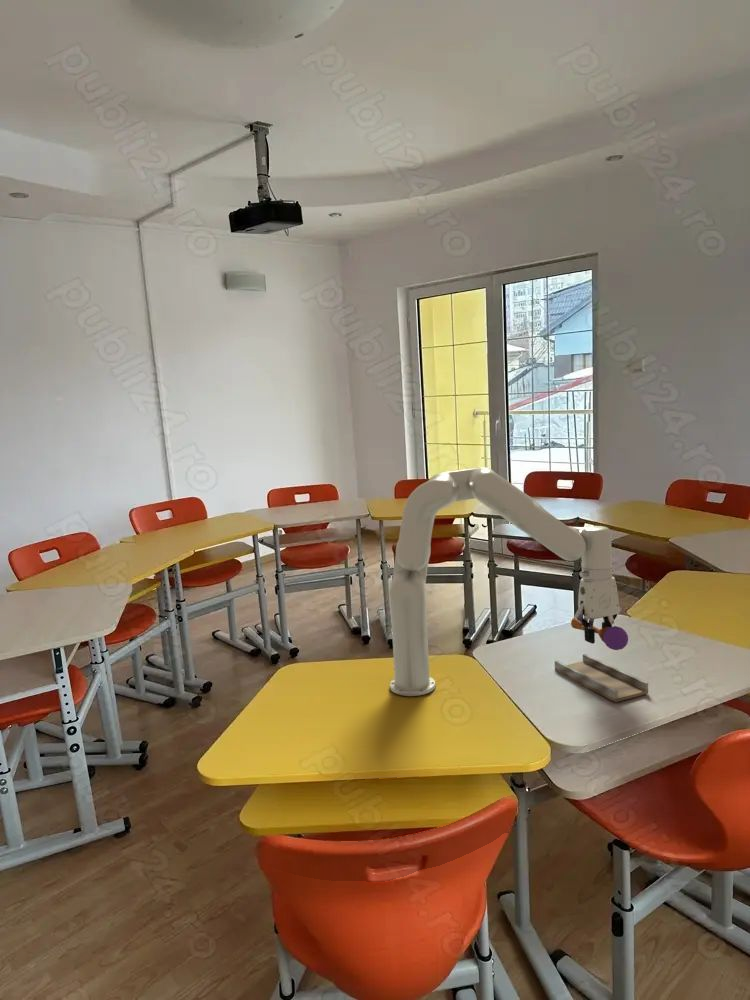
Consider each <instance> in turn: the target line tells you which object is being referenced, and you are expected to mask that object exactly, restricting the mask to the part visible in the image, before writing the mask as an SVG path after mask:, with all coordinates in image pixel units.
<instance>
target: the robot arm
mask: <svg viewBox="0 0 750 1000" xmlns="http://www.w3.org/2000/svg"><path fill="white" fill-rule="evenodd" d="M473 499H476V500H477V501H479V502H480V503H482V505H484V506H486V507H487V508H488V509H490V510H492V511H493V512H495V513H496V514H497V515H499V516H501V517H502V518H503V519H505V520H506V521H508V522H509V523H510V524H512V525H513V526H515V527H516V528H517V529H519V530H520V531H522V532H523V533H525V534H526V535H528V536H529V537H531V538H533V539H534V540H535V541H536V542H538V543H540V544H541V545H543V546H544V547H545V548H547V550H549V551H551V552H552V553H554V554H555V555H556V556H558V557H559V558H561V559H563V560H565V561H570V562H571V561H577V560H579V559H581V571H580V572H579V576H580V578H581V579H580V581H579V582H580V583H579V588H578V595H577V596H578V599H577V600H578V601H577V602H578V603H577V605H578V606H577V607H578V609H577V610H576V612H575V614H574V615H573V618H574V619H576V620H577V621H579V623H580V624H582V626H583V627H584V630H583V631H584V641H585V642H588V643H589V644H595V642H596V640H595V639H596V638H595V636H596V635H595V634H596V633H595V630H594V629H593V626H594V622H595V620H596V619H597V620H598V619H601V618H602V620H603V621H602V622H601V629H603V628H606V627H613V625H614V624H615V619H616V618H617V617H618V614H619V613H620V612H621V611H622V607H621V606H620V604H619V592H618V586H617V582H616V581H617V580H616V578H615V576H613V569H612V568H613V556H612V555H613V554H612V531H611V528H609V527H607V526H603V525H590V526H586V527H584V526H571V525H567V524H565V523H564V522H562V521H561V520H559V518H557V517H555V516H554V515H552V514H551V513H550V512H549V511H547V510H546V509H545V508H544V507H543V506H542V505H541V504H540V503H539V502H537V501H536V499H534V498H533V497H531V496H529V495H528V494H527V493H525V492H524V491H522V490H521V489H520V488H518V487H517V486H515V485H513V483H511V482H509V480H506V479H505V478H504V477H502V476H501V475H500V474H498V473H496V472H495V471H494V470H493V469H491V468H489V467H486V466H482V467H474V468H468V469H461V470H452V471H446V472H445V471H444V472H439V473H436V474H433V475H432V476H431V477H430V478H429V479H428V481H426V482H423V483H422V484H420V485H419V486H417V487H416V488H415V489H414V490H413V491H412V492H411V493H410V494H409V496H408V497H407V500H406V502H405V504H404V508H403V513H402V517H401V522H400V528H399V529H400V530H399V534H398V535H399V536H398V540H397V543H396V545H395V556H394V558H395V559H394V564H393V572H392V577H391V578H392V579H391V583H390V586H389V587H390V588H389V593H388V594H389V595H388V597H389V598H388V600H389V609H390V618H391V619H390V620H391V621H390V622H391V634H392V647H393V648H392V649H393V650H392V651H393V652H392V653H393V670H394V679H391V681H390V682H389V690H390V691H392V693H394V694H395V695H396V694H397V695H399V696H405V697H416V696H417V697H418V696H425V695H426V694H429V693H431V692H433V691H434V690H435V689H436V687H437V686H436V685H437V684H436V680H435V679H434V678H433V677H431V676H430V661H429V659H430V657H429V641H428V639H429V637H428V626H427V608H426V602H427V601H426V584H427V583H426V582H427V574H428V568H429V561H430V557H431V552H432V551H431V550H432V549H431V548H432V547H431V546H432V545H431V543H432V535H433V527H434V524H435V518H436V516H437V514H438V513H439V512H440V510H441V511H442V509H444V508H448V507H450V506H451V505H453V504H454V503H455V502H458V501H459V502H460V501H468V500H473Z"/></svg>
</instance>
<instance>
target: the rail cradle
mask: <svg viewBox="0 0 750 1000" xmlns="http://www.w3.org/2000/svg"><path fill="white" fill-rule="evenodd" d="M554 671H556V672H558V673H559V674H561V675H563V676H565V677H567V678H568V679H569V680H572V681H573V682H576V683H578V684H580V685H581V686H583V687H585V688H587V689H589V690H591V691H593V692H595V693H597V694H599V695H601V696H603V697H604V698H606V699H607V700H610V701H612V702H614V703H618V702H622V701H624V700H625V701H626V700H629V699H633V698H636V697H640V696H643V695H646V694H649V682H647V681H645V680H642V679H641V678H639V677H636V676H633V675H632V674H629V673H628V672H625V671H623V670H621V669H618V667H617V668H616V667H614V666H613V665H610V664H608V663H605V662H603V661H602V660H598V659H596V658H595V657H592V656H590V655H588V654H586V653H584V654H582V661H578V662H574V663H571V664H564V663H562V662H560V661H559V660H555V661H554Z"/></svg>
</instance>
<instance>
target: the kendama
mask: <svg viewBox="0 0 750 1000" xmlns="http://www.w3.org/2000/svg"><path fill="white" fill-rule="evenodd" d="M570 626H571V628H573V629H576V630H580V631H584V627H583V626H582V624H580V623H579V621H577V620H576V619H574V617H573V618H572V619H571V622H570ZM593 629H594V630H595V634H598V636H599V638H600V639H601V641H602V642H603V643H604V644H605V646H606V647H608V648H609V649H611V650H614V651H619V650H623V649H624V648H626V646H627V645H628V643H629V642H628V641H629V636H628V633H627V631H626V630H625V629H623V628H622V627H620V626H616V625H614V626H613V625H612V627H606V628H603V629H602V628H600V629H599V628H598V627H596V626H594V625H593Z"/></svg>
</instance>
